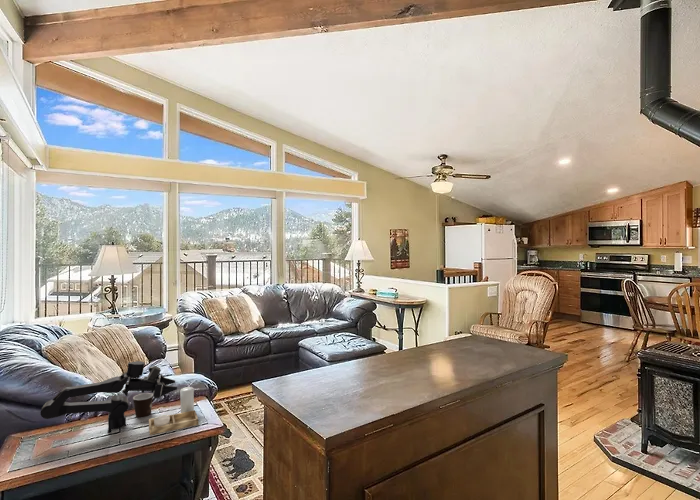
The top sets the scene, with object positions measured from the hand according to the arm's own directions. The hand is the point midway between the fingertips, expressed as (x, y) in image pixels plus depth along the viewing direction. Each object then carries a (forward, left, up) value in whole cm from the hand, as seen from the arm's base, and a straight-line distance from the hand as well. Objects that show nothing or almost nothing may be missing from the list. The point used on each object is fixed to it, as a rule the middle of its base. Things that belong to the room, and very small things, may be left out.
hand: (176, 384), depth 190 cm
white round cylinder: (-7, -11, -15) cm, 20 cm away
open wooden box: (-2, -11, -16) cm, 19 cm away
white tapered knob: (+5, -1, -16) cm, 17 cm away
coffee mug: (-13, +9, -16) cm, 22 cm away
